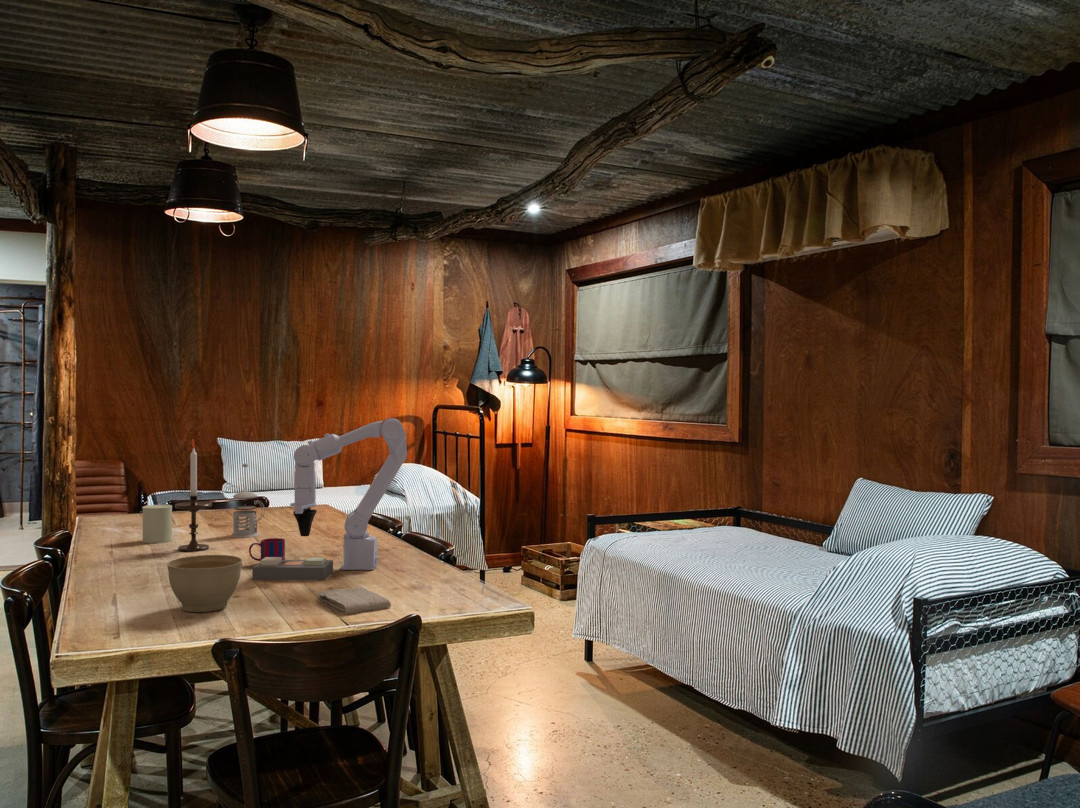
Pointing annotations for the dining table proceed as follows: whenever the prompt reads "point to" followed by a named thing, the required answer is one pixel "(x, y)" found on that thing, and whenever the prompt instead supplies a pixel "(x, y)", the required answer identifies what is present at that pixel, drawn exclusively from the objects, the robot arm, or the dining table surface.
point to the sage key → (315, 561)
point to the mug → (270, 548)
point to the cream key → (271, 561)
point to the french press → (245, 515)
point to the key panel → (292, 571)
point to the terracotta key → (293, 563)
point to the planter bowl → (204, 581)
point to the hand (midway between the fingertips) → (305, 535)
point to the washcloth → (353, 600)
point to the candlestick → (193, 508)
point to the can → (157, 523)
